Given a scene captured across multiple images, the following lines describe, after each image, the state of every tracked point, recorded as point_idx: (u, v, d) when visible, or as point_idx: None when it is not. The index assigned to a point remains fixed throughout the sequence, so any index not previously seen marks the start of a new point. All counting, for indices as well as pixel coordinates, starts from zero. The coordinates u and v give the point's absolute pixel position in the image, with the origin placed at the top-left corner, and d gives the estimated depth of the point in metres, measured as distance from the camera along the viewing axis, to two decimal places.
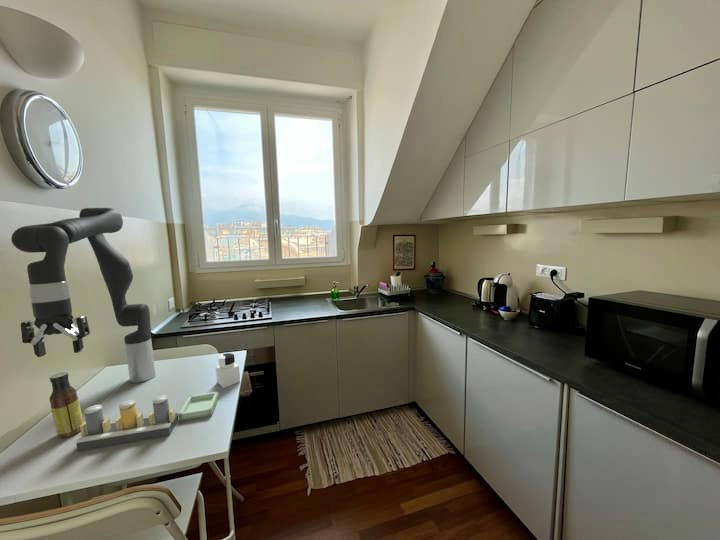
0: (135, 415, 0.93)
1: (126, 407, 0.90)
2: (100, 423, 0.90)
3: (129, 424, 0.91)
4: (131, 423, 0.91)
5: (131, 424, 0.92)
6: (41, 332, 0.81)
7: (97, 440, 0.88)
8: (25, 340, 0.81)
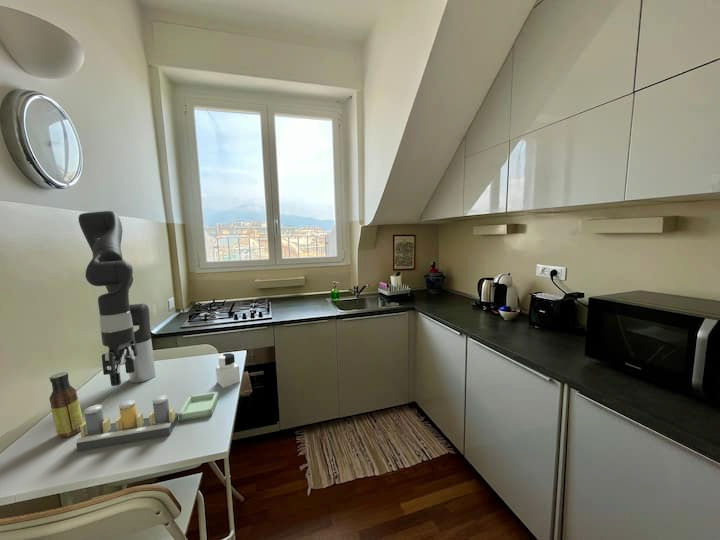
0: (135, 415, 0.93)
1: (126, 407, 0.90)
2: (100, 423, 0.90)
3: (129, 424, 0.91)
4: (131, 423, 0.91)
5: (131, 424, 0.92)
6: (123, 358, 0.88)
7: (97, 440, 0.88)
8: (114, 370, 0.84)
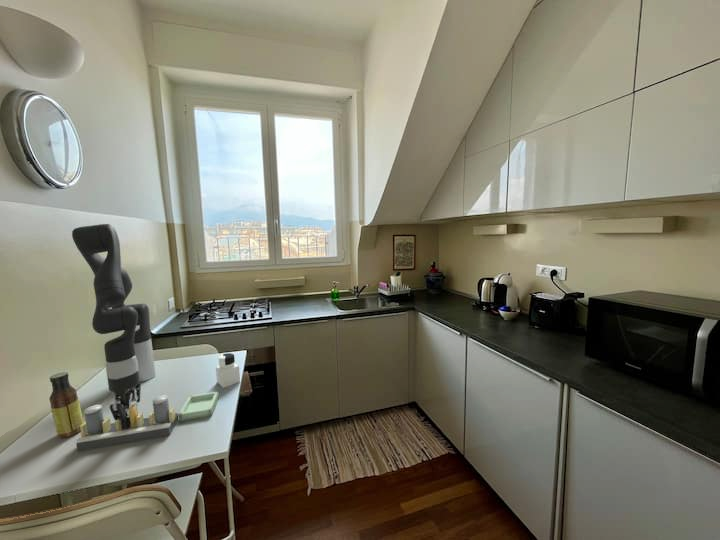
0: (135, 415, 0.93)
1: None
2: (100, 423, 0.90)
3: None
4: (131, 423, 0.91)
5: (131, 424, 0.92)
6: (130, 402, 0.91)
7: (97, 440, 0.88)
8: (124, 416, 0.88)
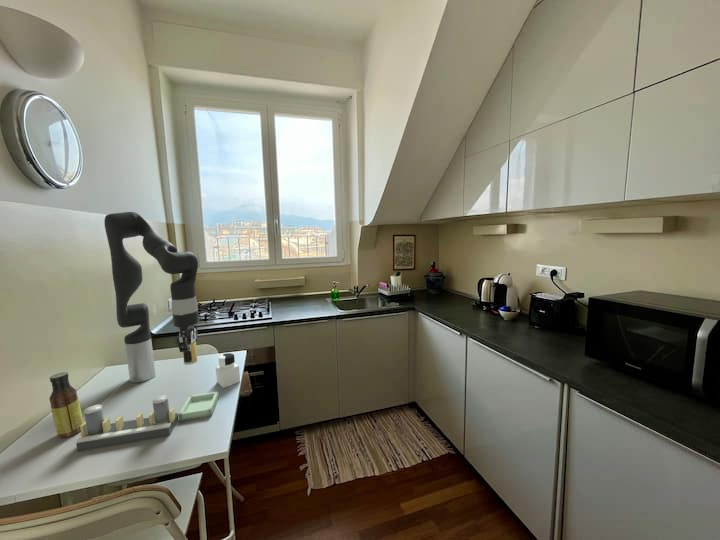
0: (195, 351, 1.02)
1: None
2: (100, 423, 0.90)
3: None
4: (192, 357, 1.01)
5: (192, 359, 1.01)
6: None
7: (97, 440, 0.88)
8: (188, 348, 0.98)
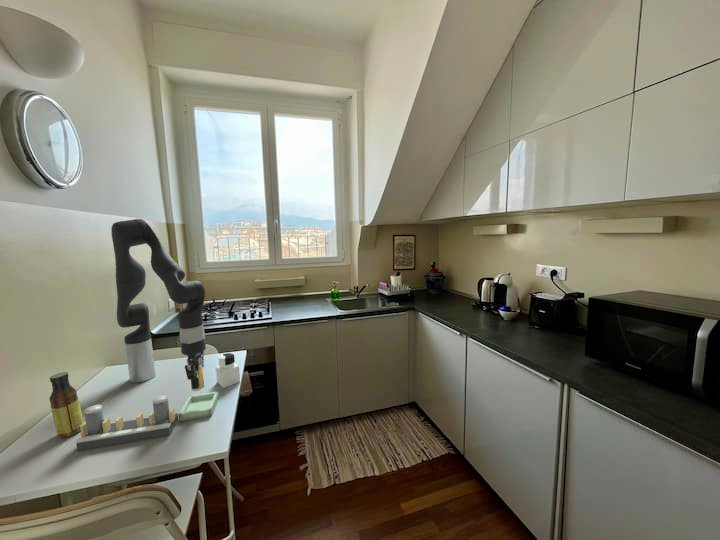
0: (202, 377, 1.05)
1: None
2: (100, 423, 0.90)
3: None
4: (199, 384, 1.04)
5: (199, 385, 1.04)
6: (199, 365, 1.03)
7: (97, 440, 0.88)
8: (196, 376, 1.00)
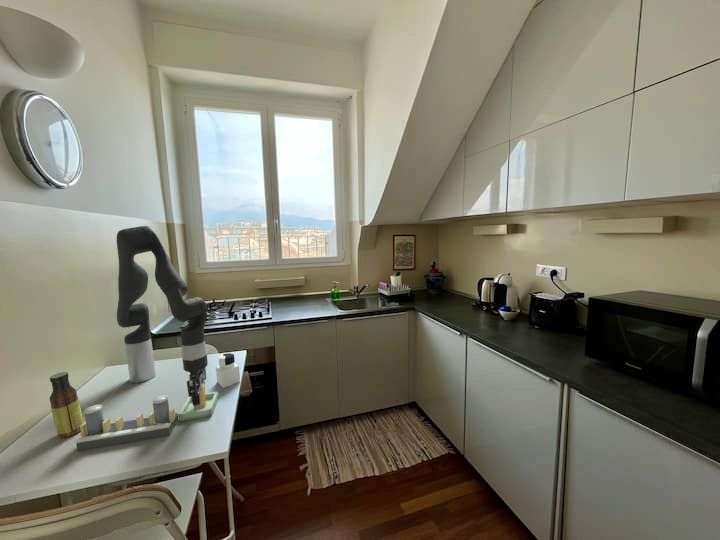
0: (204, 396, 1.06)
1: None
2: (100, 423, 0.90)
3: (200, 403, 1.04)
4: (201, 403, 1.05)
5: (201, 404, 1.05)
6: (200, 381, 1.03)
7: (97, 440, 0.88)
8: (197, 393, 1.00)
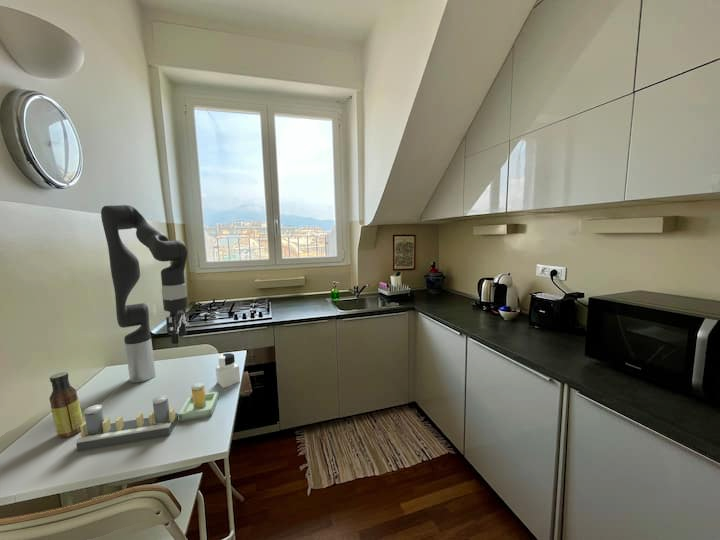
0: (204, 396, 1.06)
1: (198, 388, 1.04)
2: (100, 423, 0.90)
3: (200, 403, 1.04)
4: (201, 403, 1.05)
5: (202, 404, 1.05)
6: (180, 321, 1.06)
7: (97, 440, 0.88)
8: (175, 331, 1.02)
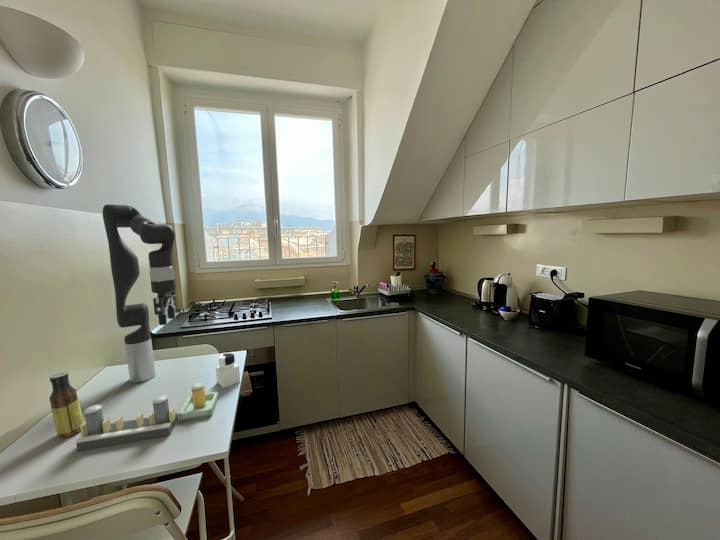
0: (204, 396, 1.06)
1: (198, 388, 1.04)
2: (100, 423, 0.90)
3: (200, 403, 1.04)
4: (201, 403, 1.05)
5: (202, 404, 1.05)
6: (168, 303, 1.09)
7: (97, 440, 0.88)
8: (162, 311, 1.05)
